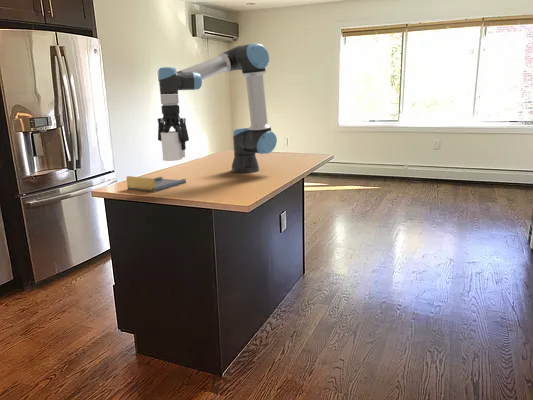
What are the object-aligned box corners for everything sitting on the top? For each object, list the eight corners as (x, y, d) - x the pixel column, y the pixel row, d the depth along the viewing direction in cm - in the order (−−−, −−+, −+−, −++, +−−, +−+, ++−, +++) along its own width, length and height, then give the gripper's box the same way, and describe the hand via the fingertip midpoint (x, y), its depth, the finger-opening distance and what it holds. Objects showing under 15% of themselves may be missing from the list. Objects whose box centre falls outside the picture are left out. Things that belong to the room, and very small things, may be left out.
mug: (173, 156, 199) (171, 130, 196) (189, 156, 196) (187, 130, 193) (158, 160, 188) (156, 133, 185) (175, 161, 185) (173, 133, 182)
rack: (186, 182, 209) (185, 170, 207) (153, 192, 190) (152, 179, 189) (161, 180, 217) (160, 168, 215) (127, 189, 198) (126, 176, 197)
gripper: (194, 103, 185) (198, 156, 190) (157, 104, 194) (162, 154, 200) (183, 104, 178) (188, 159, 184) (145, 105, 188) (151, 157, 193)
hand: (174, 157), depth 192 cm, fingers closed on mug, 8 cm apart
